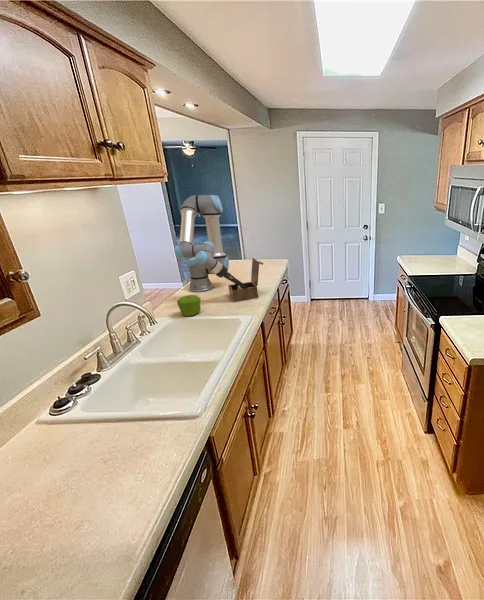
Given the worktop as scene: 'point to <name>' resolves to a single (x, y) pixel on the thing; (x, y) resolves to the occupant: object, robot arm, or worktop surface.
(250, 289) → the chest
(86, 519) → the worktop surface
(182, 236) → the robot arm
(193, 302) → the apple
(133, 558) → the worktop surface
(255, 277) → the lid
